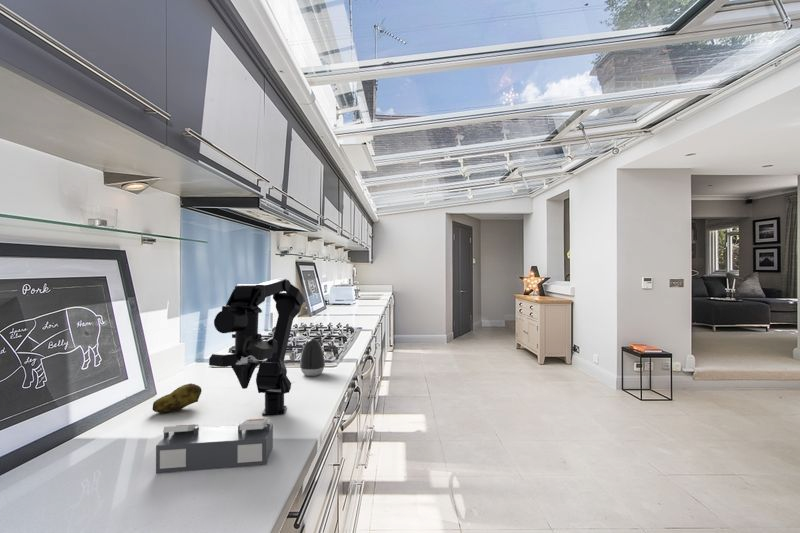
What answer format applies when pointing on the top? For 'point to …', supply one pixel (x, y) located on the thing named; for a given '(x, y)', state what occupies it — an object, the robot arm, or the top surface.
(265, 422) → the rocker switch
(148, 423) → the top surface
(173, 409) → the potato
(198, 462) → the power strip
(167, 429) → the outlet rocker
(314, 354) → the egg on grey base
